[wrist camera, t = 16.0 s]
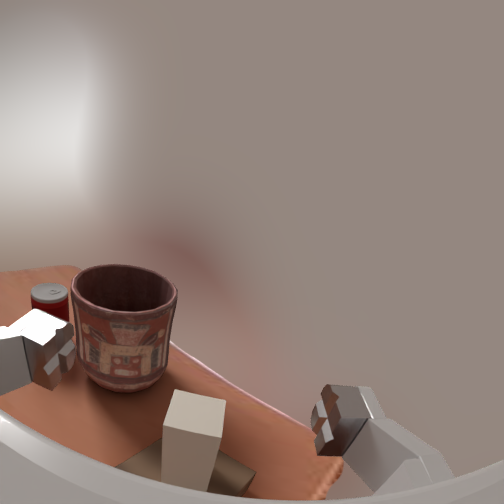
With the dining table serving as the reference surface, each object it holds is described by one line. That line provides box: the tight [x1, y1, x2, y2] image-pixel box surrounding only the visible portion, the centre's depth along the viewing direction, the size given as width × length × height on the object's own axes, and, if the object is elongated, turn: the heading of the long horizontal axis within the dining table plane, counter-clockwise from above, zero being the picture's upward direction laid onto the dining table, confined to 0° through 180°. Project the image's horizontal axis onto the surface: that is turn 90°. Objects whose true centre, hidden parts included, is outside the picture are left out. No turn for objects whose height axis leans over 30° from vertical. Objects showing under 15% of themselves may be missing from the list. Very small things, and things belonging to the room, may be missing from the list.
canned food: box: [31, 283, 69, 322], centre depth 47 cm, size 8×8×11 cm
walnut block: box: [115, 438, 256, 497], centre depth 27 cm, size 12×12×5 cm
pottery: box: [71, 264, 177, 393], centre depth 45 cm, size 18×18×18 cm
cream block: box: [161, 389, 226, 492], centre depth 25 cm, size 5×5×12 cm
